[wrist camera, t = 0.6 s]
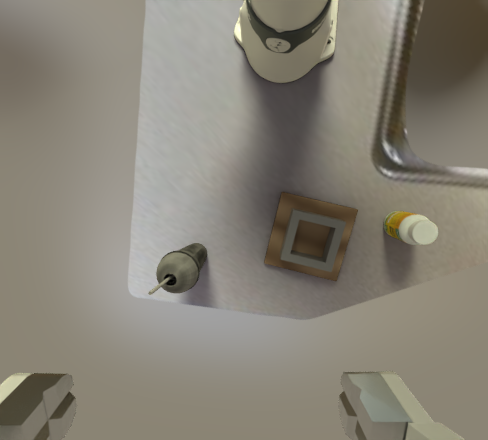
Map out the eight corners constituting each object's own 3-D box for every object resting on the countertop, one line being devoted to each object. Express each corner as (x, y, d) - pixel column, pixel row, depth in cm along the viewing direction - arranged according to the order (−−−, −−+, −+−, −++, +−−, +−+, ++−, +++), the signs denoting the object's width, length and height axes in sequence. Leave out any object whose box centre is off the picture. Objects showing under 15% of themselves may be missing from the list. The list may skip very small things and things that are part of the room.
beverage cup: (216, 266, 56) (188, 312, 36) (185, 272, 57) (140, 319, 37) (209, 234, 55) (176, 262, 35) (177, 240, 56) (127, 271, 36)
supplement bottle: (417, 223, 51) (451, 233, 41) (395, 242, 52) (424, 256, 42) (397, 204, 50) (427, 209, 41) (376, 224, 51) (400, 233, 42)
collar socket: (281, 191, 52) (283, 192, 47) (355, 208, 51) (364, 211, 46) (264, 261, 55) (263, 268, 50) (334, 278, 54) (341, 288, 49)
